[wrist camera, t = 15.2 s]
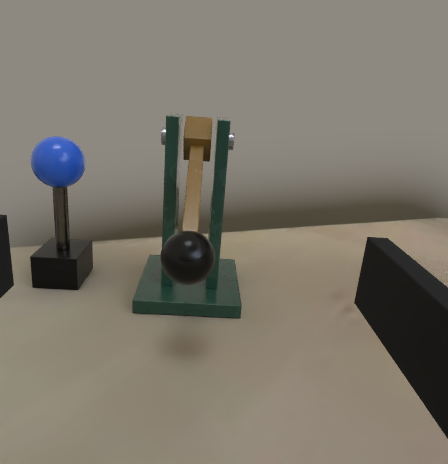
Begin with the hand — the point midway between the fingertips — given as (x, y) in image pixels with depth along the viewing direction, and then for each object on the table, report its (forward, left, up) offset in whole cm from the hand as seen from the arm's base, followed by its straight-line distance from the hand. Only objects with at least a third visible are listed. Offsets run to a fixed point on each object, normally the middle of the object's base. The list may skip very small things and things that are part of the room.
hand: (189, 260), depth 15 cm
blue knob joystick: (+12, -22, -12) cm, 28 cm away
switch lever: (0, -17, -3) cm, 17 cm away
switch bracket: (0, -21, -12) cm, 24 cm away
